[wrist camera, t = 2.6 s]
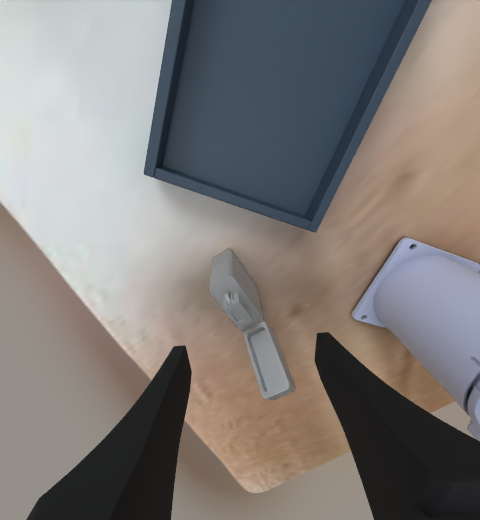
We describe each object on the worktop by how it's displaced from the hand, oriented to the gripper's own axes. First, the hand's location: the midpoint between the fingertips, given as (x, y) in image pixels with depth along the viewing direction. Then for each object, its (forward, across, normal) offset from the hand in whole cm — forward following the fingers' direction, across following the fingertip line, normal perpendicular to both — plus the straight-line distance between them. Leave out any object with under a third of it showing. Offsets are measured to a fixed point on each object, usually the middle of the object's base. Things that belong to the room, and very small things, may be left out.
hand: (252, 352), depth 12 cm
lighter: (+7, 0, 0) cm, 7 cm away
